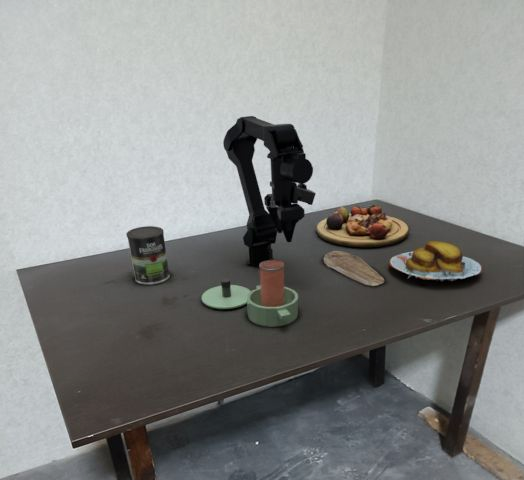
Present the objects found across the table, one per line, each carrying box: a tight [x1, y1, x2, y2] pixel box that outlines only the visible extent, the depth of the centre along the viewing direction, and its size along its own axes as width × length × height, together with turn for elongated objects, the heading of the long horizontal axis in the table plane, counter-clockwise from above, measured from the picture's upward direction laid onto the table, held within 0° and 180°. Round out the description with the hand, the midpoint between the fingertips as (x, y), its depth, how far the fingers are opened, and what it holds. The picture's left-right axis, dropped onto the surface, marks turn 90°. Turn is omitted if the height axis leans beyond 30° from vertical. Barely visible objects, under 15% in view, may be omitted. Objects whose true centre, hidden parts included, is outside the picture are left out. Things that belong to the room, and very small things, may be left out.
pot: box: [246, 284, 299, 328], centre depth 121 cm, size 13×18×5 cm
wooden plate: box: [316, 204, 410, 248], centre depth 169 cm, size 32×32×8 cm
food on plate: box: [388, 240, 483, 282], centre depth 139 cm, size 25×25×7 cm
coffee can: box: [126, 225, 171, 286], centre depth 140 cm, size 10×10×14 cm
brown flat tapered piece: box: [323, 250, 385, 287], centre depth 144 cm, size 26×10×1 cm, turn 31°
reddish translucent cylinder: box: [258, 259, 285, 307], centre depth 119 cm, size 6×6×13 cm
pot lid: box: [201, 277, 252, 310], centre depth 129 cm, size 14×14×6 cm
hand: (284, 237), depth 132 cm, fingers open, 9 cm apart
